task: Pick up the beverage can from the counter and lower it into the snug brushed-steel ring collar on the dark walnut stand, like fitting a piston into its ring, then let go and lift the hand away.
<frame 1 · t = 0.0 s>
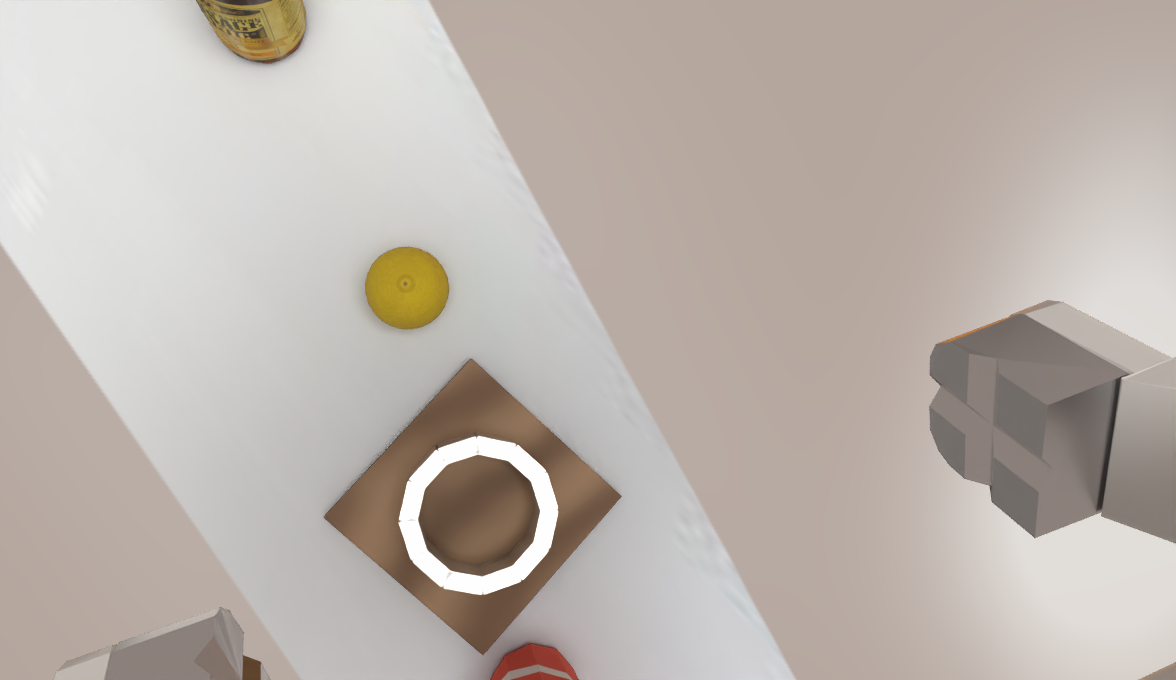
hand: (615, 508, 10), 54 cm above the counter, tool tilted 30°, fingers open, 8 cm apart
lemon: (409, 292, 63), on the counter
piston ring: (477, 506, 62), resting on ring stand
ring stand: (476, 504, 63), on the counter
sauce bottle: (266, 27, 61), on the counter
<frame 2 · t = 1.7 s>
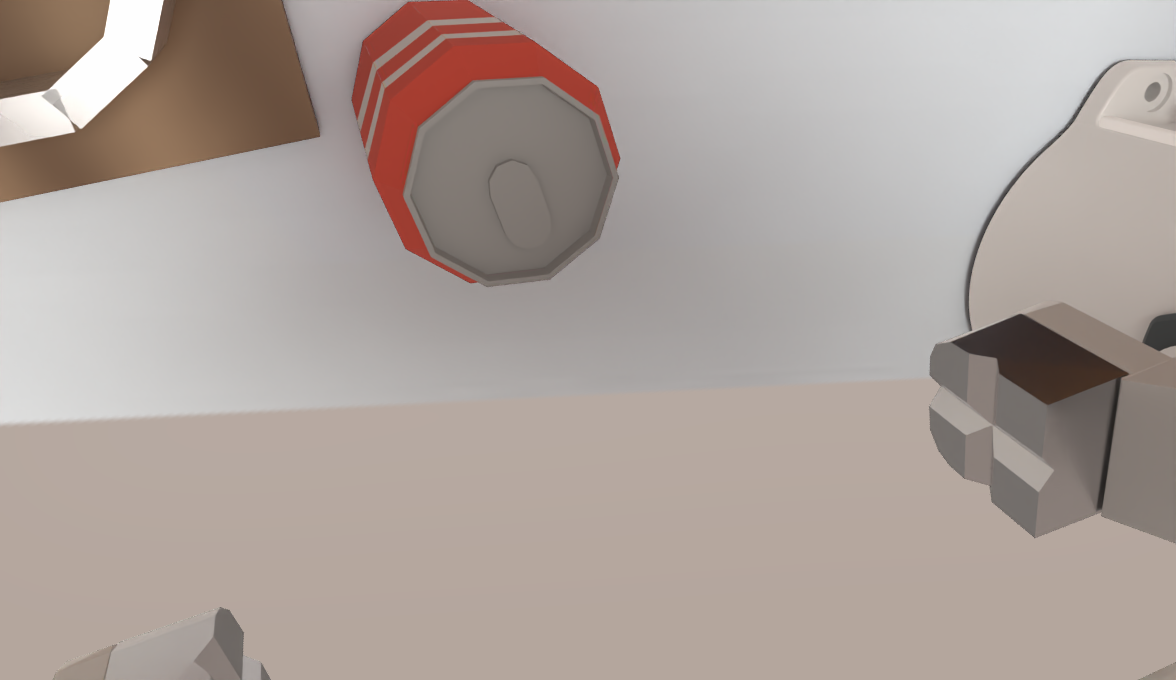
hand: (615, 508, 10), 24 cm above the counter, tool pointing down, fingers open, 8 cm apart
beverage can: (441, 88, 31), on the counter
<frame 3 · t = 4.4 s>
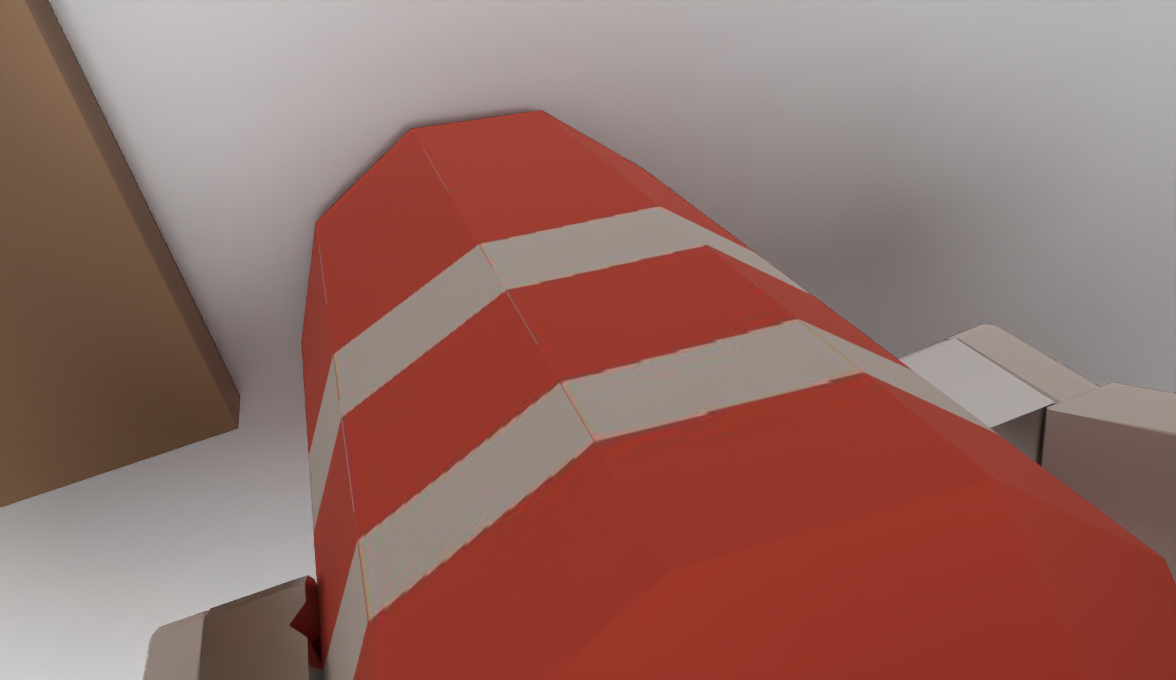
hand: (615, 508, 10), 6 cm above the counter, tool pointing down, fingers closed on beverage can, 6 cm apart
beverage can: (489, 282, 15), on the counter, touching gripper
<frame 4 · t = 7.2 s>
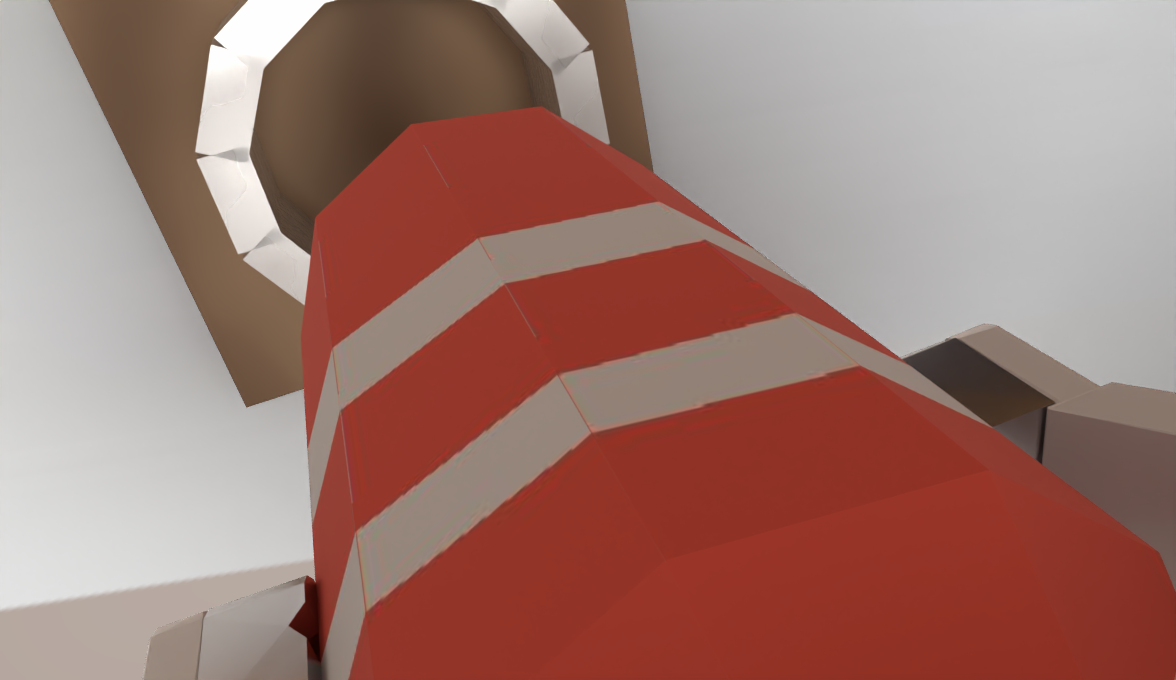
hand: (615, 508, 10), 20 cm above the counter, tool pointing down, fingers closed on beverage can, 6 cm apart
beverage can: (488, 278, 15), point 14 cm above the counter, touching gripper
piston ring: (400, 121, 26), resting on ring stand
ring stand: (397, 114, 27), on the counter
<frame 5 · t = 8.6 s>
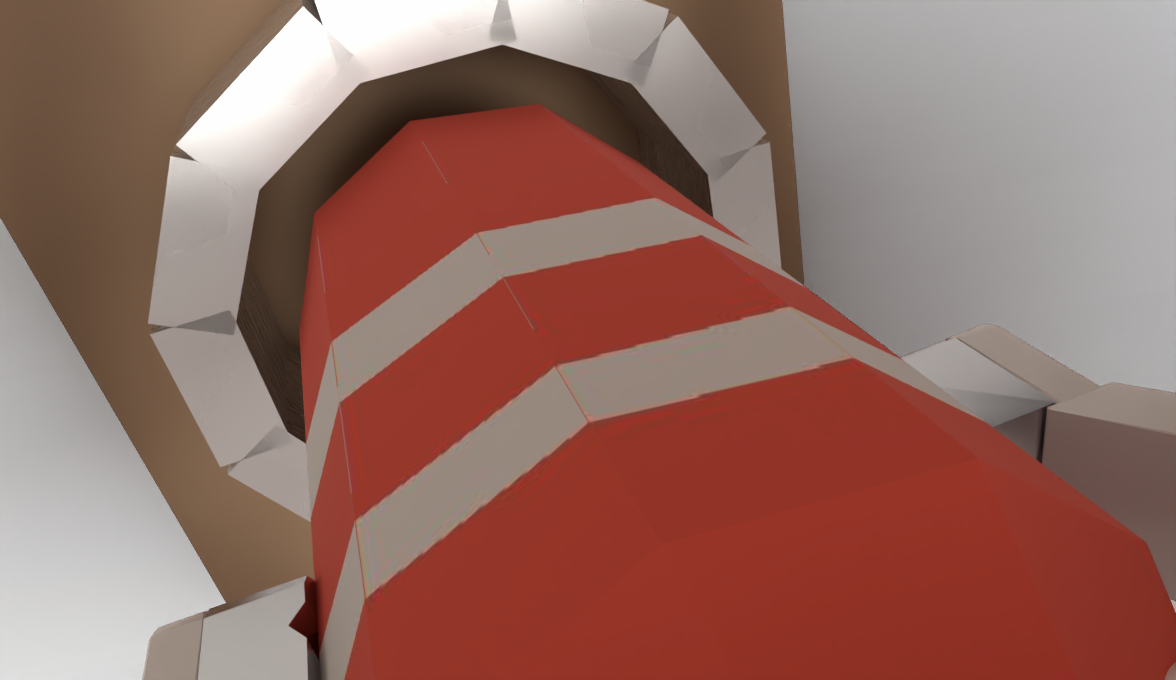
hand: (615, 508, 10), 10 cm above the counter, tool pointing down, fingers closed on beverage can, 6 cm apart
beverage can: (486, 275, 15), point 4 cm above the counter, touching gripper
piston ring: (461, 233, 18), resting on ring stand
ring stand: (453, 217, 18), on the counter
when the fingers open (8 cm above the counter, at t = 9.9 s): beverage can stays where it is, resting on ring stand.
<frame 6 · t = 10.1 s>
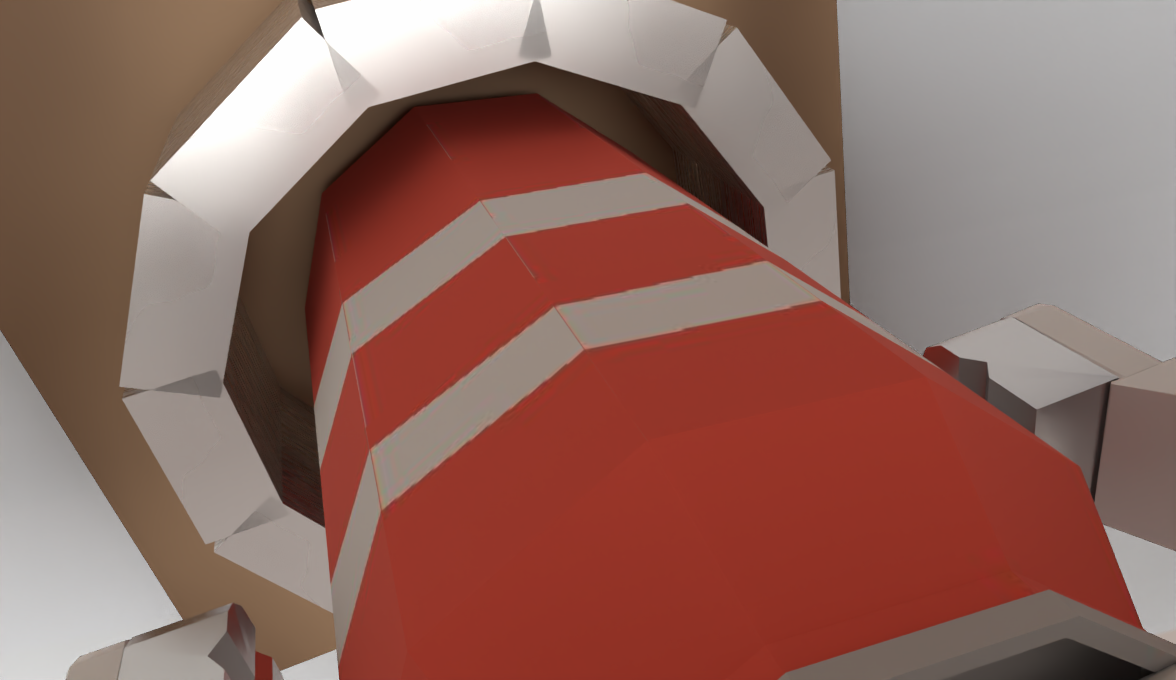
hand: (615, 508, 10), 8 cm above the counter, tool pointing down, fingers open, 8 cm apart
beverage can: (483, 258, 16), point 1 cm above the counter, touching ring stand
piston ring: (478, 266, 16), resting on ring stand
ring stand: (467, 247, 17), on the counter
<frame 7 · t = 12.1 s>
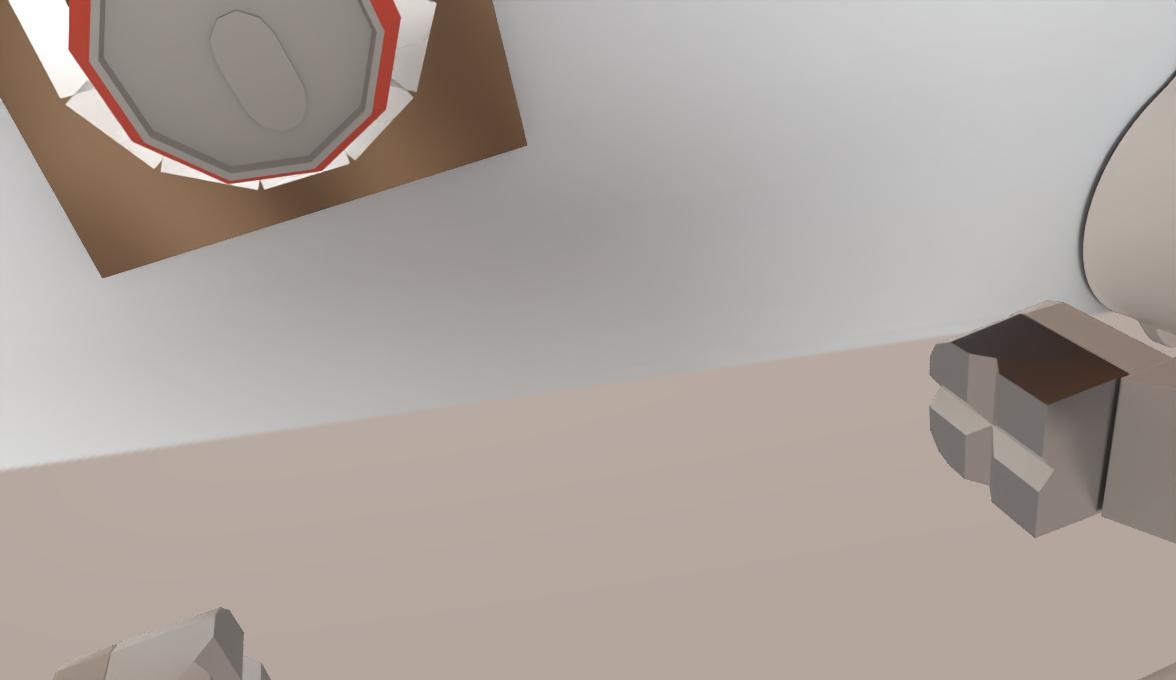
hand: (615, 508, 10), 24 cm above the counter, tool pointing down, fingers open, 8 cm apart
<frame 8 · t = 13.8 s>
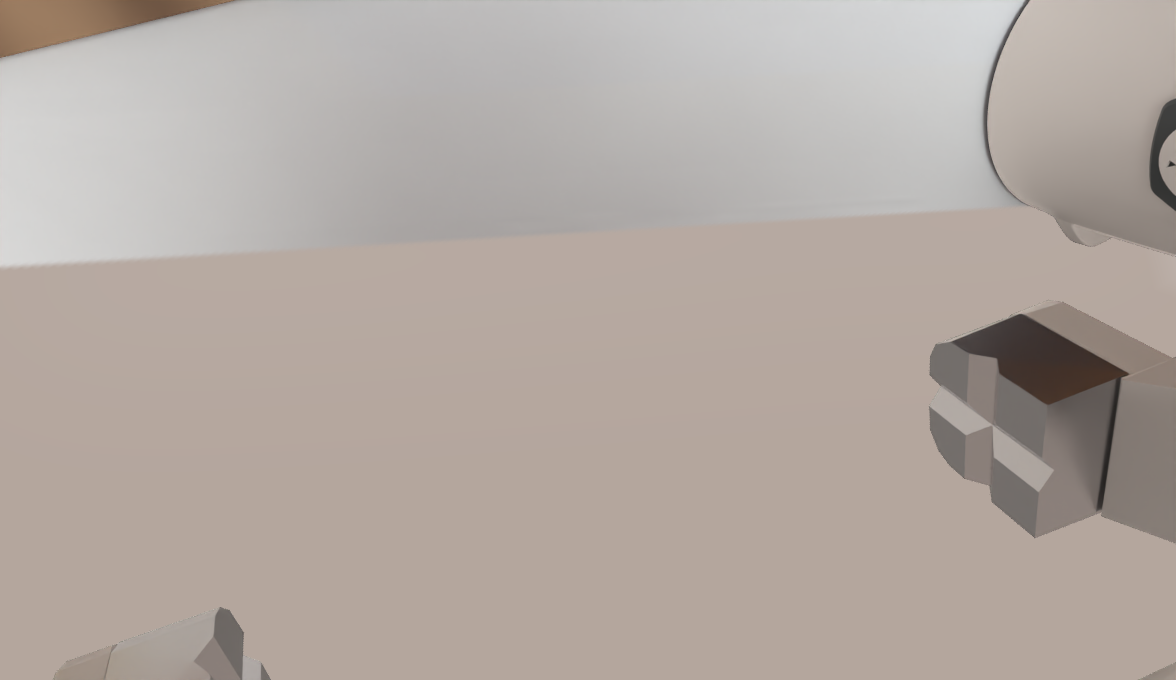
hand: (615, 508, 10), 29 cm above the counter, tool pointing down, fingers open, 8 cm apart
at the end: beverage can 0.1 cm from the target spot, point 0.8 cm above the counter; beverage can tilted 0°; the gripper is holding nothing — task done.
